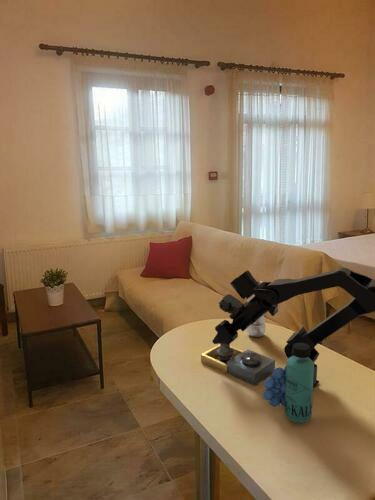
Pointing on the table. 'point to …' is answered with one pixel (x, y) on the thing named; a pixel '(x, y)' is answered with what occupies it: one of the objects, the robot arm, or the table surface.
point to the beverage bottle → (299, 384)
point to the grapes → (276, 387)
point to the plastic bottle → (256, 324)
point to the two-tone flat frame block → (242, 365)
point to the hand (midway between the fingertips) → (220, 336)
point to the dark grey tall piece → (224, 353)
